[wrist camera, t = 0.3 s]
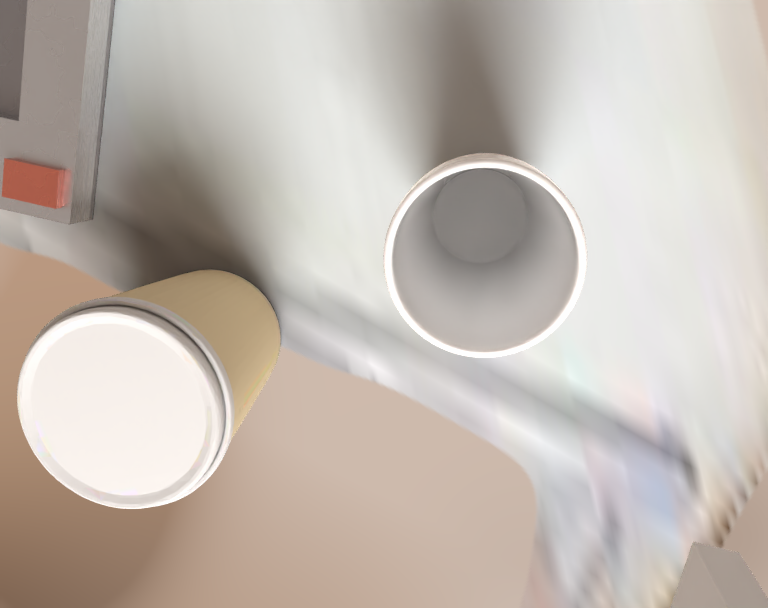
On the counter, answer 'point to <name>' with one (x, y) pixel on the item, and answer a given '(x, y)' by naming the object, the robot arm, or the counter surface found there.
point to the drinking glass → (485, 256)
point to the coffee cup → (147, 386)
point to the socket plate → (52, 105)
